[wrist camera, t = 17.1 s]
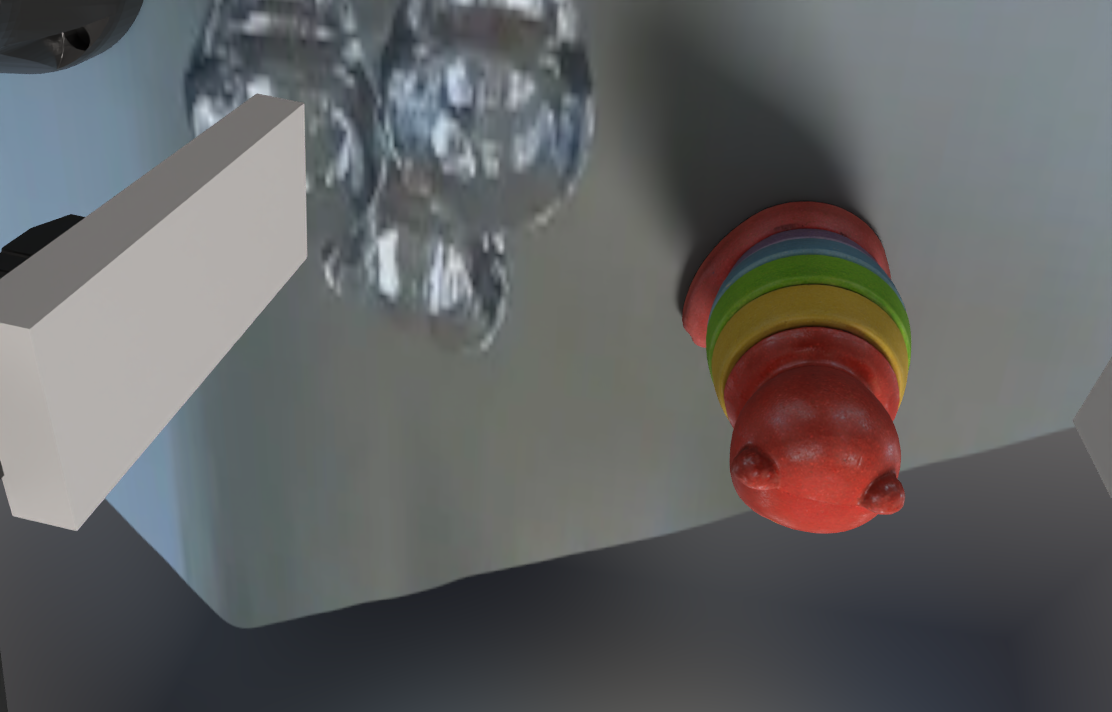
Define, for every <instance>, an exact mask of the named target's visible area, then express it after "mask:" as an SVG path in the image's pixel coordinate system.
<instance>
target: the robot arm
mask: <svg viewBox="0 0 1112 712" xmlns="http://www.w3.org/2000/svg"><path fill="white" fill-rule="evenodd" d="M142 3H143V0H0V73H14V74H42V73H49V72H55V71H59V70H63V69H67V68H70V67H72V66H75V65H77V64H79V63H81V62H84V61H86V60H88V59H90V58H92V57H94V56H97V55H99V54H101V53H103V52H104V51H106V50H107V49H109V48H111V47H112V46H113V45H114V44H116V43H117V42H118V41H119V40H120V39H121V38H122V37H123V36H124V35H125V33H126V32H127V31H128V30H129V28H130V27H131V25H132V24H133V22H134V21H135V19H136V17H137V15H138V13H139V11H140V8H141V6H142ZM306 258H307V227H306V174H305V120H304V103H301V102H296V101H291V100H286V99H281V98H276V97H271V96H266V95H262V94H256V95H254V96H253V97H251V98H250V99H249V100H247V101H246V102H244V103H243V104H242V105H240V106H239V107H238V108H236V109H235V110H233V111H232V112H231V113H229V114H228V115H227V116H225V117H224V118H222V119H221V120H220V121H218V122H217V123H215V124H214V125H213V126H211V127H210V128H209V129H207V130H206V131H204V132H203V133H202V134H200V135H199V136H197V137H196V138H195V139H193V140H192V141H191V142H189V143H188V144H186V145H185V146H184V147H182V148H181V149H179V150H178V151H177V152H175V153H174V154H173V155H171V156H170V157H168V158H167V159H166V160H164V161H163V162H161V163H160V164H159V165H157V166H156V167H155V168H153V169H152V170H150V171H149V172H148V173H146V174H145V175H143V176H142V177H141V178H139V179H138V180H137V181H135V182H134V183H132V184H131V185H130V186H128V187H127V188H125V189H124V190H123V191H121V192H120V193H119V194H117V195H116V196H114V197H113V198H112V199H110V200H109V201H107V202H106V203H105V204H103V205H102V206H101V207H99V208H98V209H96V210H95V211H94V212H92V213H91V214H89V215H88V216H87V217H82V216H77V215H72V214H70V215H67V216H64V217H62V218H59V219H56V220H53V221H50V222H47V223H44V224H41V225H39V226H36V227H33V228H30V229H29V230H27V231H26V232H25V233H23V234H22V235H20V236H19V237H17V238H16V239H14V240H13V241H11V242H10V243H8V244H7V245H5V246H4V247H3V248H2V251H1V253H0V479H1V478H2V480H3V483H4V487H5V491H6V494H7V497H8V501H9V505H10V508H11V512H12V515H13V516H15V517H20V518H24V519H28V520H32V521H37V522H41V523H45V524H49V525H54V526H58V527H62V528H67V529H71V530H75V531H77V530H78V529H79V528H80V527H81V525H82V524H83V523H84V522H85V521H86V520H87V518H88V517H89V516H90V515H91V514H92V512H93V511H94V510H95V509H96V508H97V507H98V505H99V504H100V503H101V502H102V501H103V499H104V498H105V497H106V496H107V495H108V493H109V492H110V491H111V490H112V489H113V488H114V486H115V485H116V484H117V483H118V482H119V480H120V479H121V478H122V477H123V476H124V474H125V473H126V472H127V471H128V470H129V469H130V467H131V466H132V465H133V464H134V463H135V461H136V460H137V459H138V458H139V457H140V455H141V454H142V453H143V452H144V451H145V450H146V448H147V447H148V446H149V445H150V444H151V442H152V441H153V440H154V439H155V438H156V436H157V435H158V434H159V433H160V432H161V431H162V429H163V428H164V427H165V426H166V425H167V423H168V422H169V421H170V420H171V419H172V417H173V416H174V415H175V414H176V413H177V412H178V410H179V409H180V408H181V407H182V406H183V404H184V403H185V402H186V401H187V400H188V398H189V397H190V396H191V395H192V394H193V393H194V391H195V390H196V389H197V388H198V387H199V385H200V384H201V383H202V382H203V381H204V379H205V378H206V377H207V376H208V375H209V374H210V372H211V371H212V370H213V369H214V368H215V366H216V365H217V364H218V363H219V362H220V360H221V359H222V358H223V357H224V356H225V355H226V353H227V352H228V351H229V350H230V349H231V347H232V346H233V345H234V344H235V343H236V341H237V340H238V339H239V338H240V337H241V336H242V334H243V333H244V332H245V331H246V330H247V328H248V327H249V326H250V325H251V324H252V322H253V321H254V320H255V319H256V318H257V317H258V315H259V314H260V313H261V312H262V311H263V309H264V308H265V307H266V306H267V305H268V303H269V302H270V301H271V300H272V299H273V298H274V296H275V295H276V294H277V293H278V292H279V290H280V289H281V288H282V287H283V286H284V284H285V283H286V282H287V281H288V280H289V279H290V277H291V276H292V275H293V274H294V273H295V271H296V270H297V269H298V268H299V267H300V265H301V264H302V263H303V262H304V261H305V260H306ZM1073 422H1074V424H1075V426H1076V428H1077V430H1078V432H1079V434H1080V436H1081V438H1082V440H1083V442H1084V444H1085V446H1086V449H1087V450H1088V452H1089V455H1090V457H1091V459H1092V461H1093V463H1094V464H1095V467H1096V469H1097V471H1098V473H1099V475H1100V476H1101V479H1102V481H1103V483H1104V485H1105V487H1106V489H1107V491H1108V493H1109V495H1110V497H1111V499H1112V358H1111V359H1110V361H1109V362H1108V364H1107V366H1106V367H1105V369H1104V371H1103V372H1102V374H1101V375H1100V377H1099V379H1098V380H1097V382H1096V384H1095V385H1094V387H1093V388H1092V390H1091V392H1090V393H1089V395H1088V397H1087V398H1086V400H1085V401H1084V403H1083V405H1082V406H1081V408H1080V410H1079V411H1078V413H1077V414H1076V416H1075V418H1074V419H1073ZM3 677H4V676H3V669H2V661H1V653H0V712H8V708H7V700H6V692H5V685H4V678H3Z"/></svg>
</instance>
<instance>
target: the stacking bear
mask: <svg viewBox="0 0 1112 712" xmlns="http://www.w3.org/2000/svg"><path fill="white" fill-rule="evenodd" d="M682 321H683V326H684V328H685V330H686V331H687V332H688V333H689V334H690V335H691V337H692V340H693V341H694V343H695V344H696V345H698V346H701V347H705V348H706V351H707V360H708V366H709V370H710V374H711V378H712V381H713V384H714V387H715V391H716V394H717V397H718V400H719V402H720V405H721V407H722V409H723V411H724V413H725V415H726V416H727V418H728V420H729V421H730V423H731V425H732V427H733V428H734V430H733V434H732V440H731V447H730V473H731V477H732V482H733V485H734V487H735V490H736V492H737V493H738V495H739V497H740V498H741V499H742V500H743V501H744V503H745V504H746V505H748V506H749V507H750V508H751V509H752V510H753V511H755V512H756V513H758V514H760V515H761V516H763V517H765V518H768V519H770V520H772V521H774V522H776V523H778V524H781V525H783V526H786V527H788V528H792V529H795V530H800V531H806V532H812V533H837V532H843V531H847V530H851V529H853V528H856V527H858V526H861V525H862V524H864V523H866V522H868V521H870V520H871V519H872V518H874V517H875V516H876V515H877V514H883V515H884V514H892V513H895V512H897V511H899V510H900V509H901V508H902V507H903V504H904V500H905V493H904V489H903V487H902V484H901V482H900V481H899V480H898V479H897V478H898V474H899V470H900V463H901V450H900V444H899V438H898V435H897V432H896V429H895V426H894V424H893V420H894V418H895V416H896V413H897V411H898V408H899V406H900V404H901V401H902V398H903V395H904V391H905V387H906V382H907V375H908V370H909V366H910V358H911V332H910V324H909V320H908V316H907V313H906V310H905V306H904V303H903V301H902V299H901V297H900V295H899V293H898V291H897V289H896V288H895V286H894V284H893V282H892V281H891V276H890V270H889V266H888V262H887V258H886V255H885V251H884V248H883V246H882V244H881V242H880V240H879V239H878V237H877V236H876V234H875V233H874V231H873V230H872V229H871V228H870V227H869V226H868V225H867V224H866V223H865V222H864V221H862V220H861V219H860V218H858V217H857V216H855V215H854V214H852V213H850V212H848V211H847V210H844V209H842V208H839V207H837V206H834V205H830V204H825V203H819V202H810V201H806V202H789V203H785V204H780V205H776V206H773V207H770V208H767V209H765V210H763V211H761V212H759V213H757V214H755V215H753V216H752V217H750V218H749V219H747V220H746V221H744V222H743V223H741V224H740V225H739V226H737V227H736V228H735V229H734V230H732V231H731V232H730V233H729V234H728V235H727V236H726V237H725V238H724V239H722V240H721V241H720V242H719V244H718V245H717V246H716V247H715V248H714V249H713V250H712V251H711V253H710V254H709V255H708V256H707V258H706V259H705V260H704V262H703V263H702V265H701V266H700V268H699V269H698V271H697V273H696V275H695V277H694V279H693V281H692V283H691V285H690V288H689V291H688V293H687V296H686V299H685V303H684V308H683V316H682Z"/></svg>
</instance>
